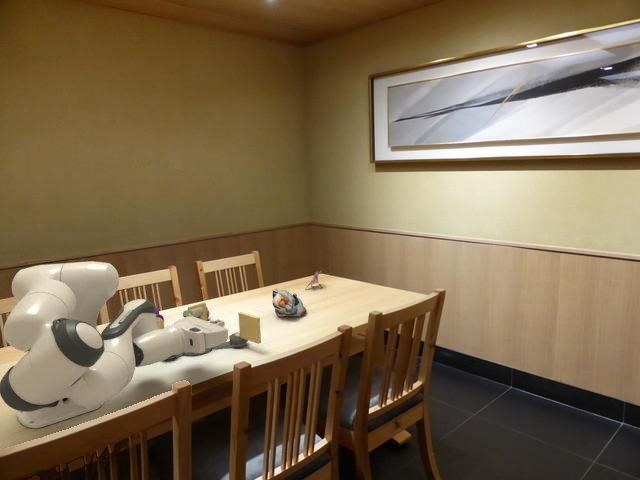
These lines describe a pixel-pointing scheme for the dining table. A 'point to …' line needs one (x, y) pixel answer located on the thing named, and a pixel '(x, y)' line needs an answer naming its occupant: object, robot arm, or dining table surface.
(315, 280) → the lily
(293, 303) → the grey lumpy piece
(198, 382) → the dining table surface
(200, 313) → the tribrach
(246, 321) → the tan placard on stand
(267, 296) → the dining table surface
